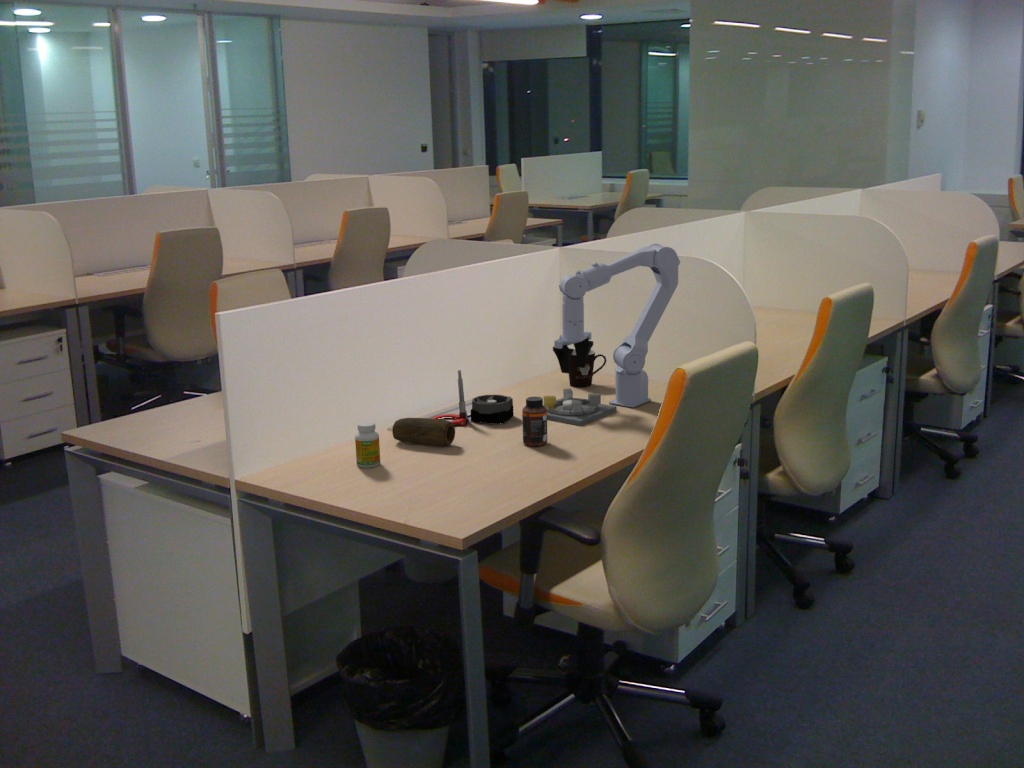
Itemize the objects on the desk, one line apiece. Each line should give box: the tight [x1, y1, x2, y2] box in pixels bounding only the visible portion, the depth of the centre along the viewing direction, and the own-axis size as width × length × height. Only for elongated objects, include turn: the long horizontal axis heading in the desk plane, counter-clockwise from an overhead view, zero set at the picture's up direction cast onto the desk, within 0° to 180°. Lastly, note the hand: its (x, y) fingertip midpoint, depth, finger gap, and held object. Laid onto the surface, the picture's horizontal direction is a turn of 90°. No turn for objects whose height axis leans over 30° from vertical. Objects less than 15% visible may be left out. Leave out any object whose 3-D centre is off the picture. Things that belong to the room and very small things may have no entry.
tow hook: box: [429, 369, 468, 427], centre depth 258 cm, size 9×14×10 cm
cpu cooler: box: [470, 394, 515, 425], centre depth 261 cm, size 10×6×10 cm
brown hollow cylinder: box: [391, 417, 456, 447], centre depth 241 cm, size 15×7×7 cm, turn 71°
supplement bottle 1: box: [354, 420, 381, 469], centre depth 226 cm, size 5×5×10 cm
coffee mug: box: [568, 348, 607, 389], centre depth 292 cm, size 12×9×10 cm
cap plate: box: [543, 397, 618, 427], centre depth 264 cm, size 17×17×3 cm
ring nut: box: [543, 388, 602, 416], centre depth 264 cm, size 15×15×4 cm
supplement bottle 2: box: [521, 396, 549, 448], centre depth 238 cm, size 6×6×11 cm
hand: (573, 370), depth 268 cm, fingers open, 7 cm apart
